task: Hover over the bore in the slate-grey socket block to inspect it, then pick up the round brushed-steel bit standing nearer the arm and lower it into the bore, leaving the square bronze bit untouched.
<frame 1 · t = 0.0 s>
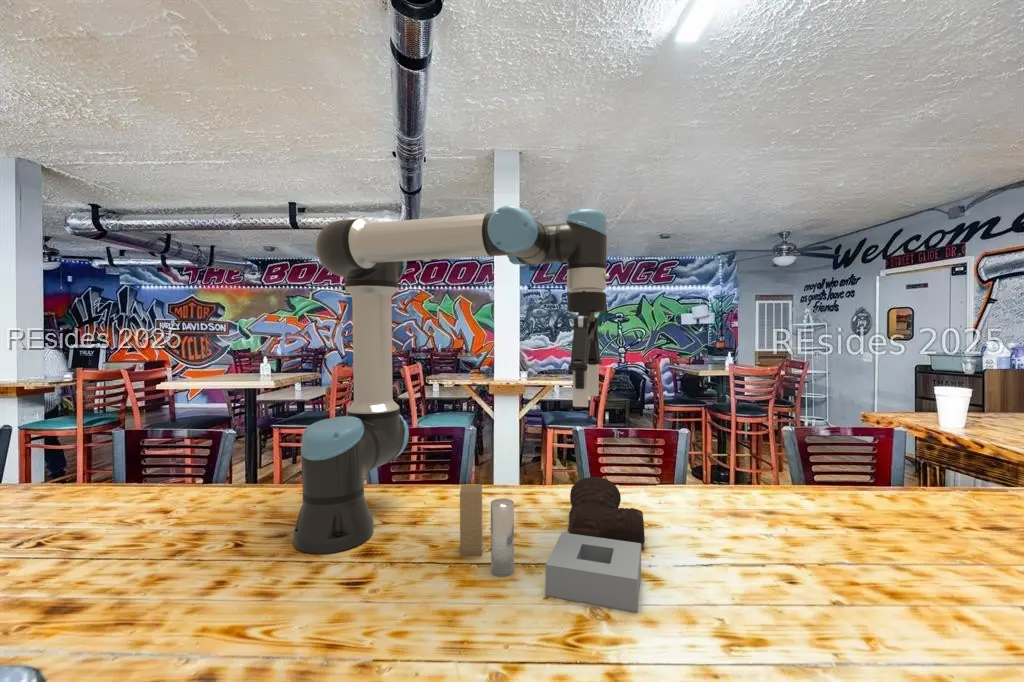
hand: (586, 400, 91), 28 cm above the table, fingers open, 13 cm apart
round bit: (502, 570, 81), on the table
socket block: (595, 583, 77), on the table
pipe: (604, 533, 96), on the table
square bit: (471, 550, 88), on the table
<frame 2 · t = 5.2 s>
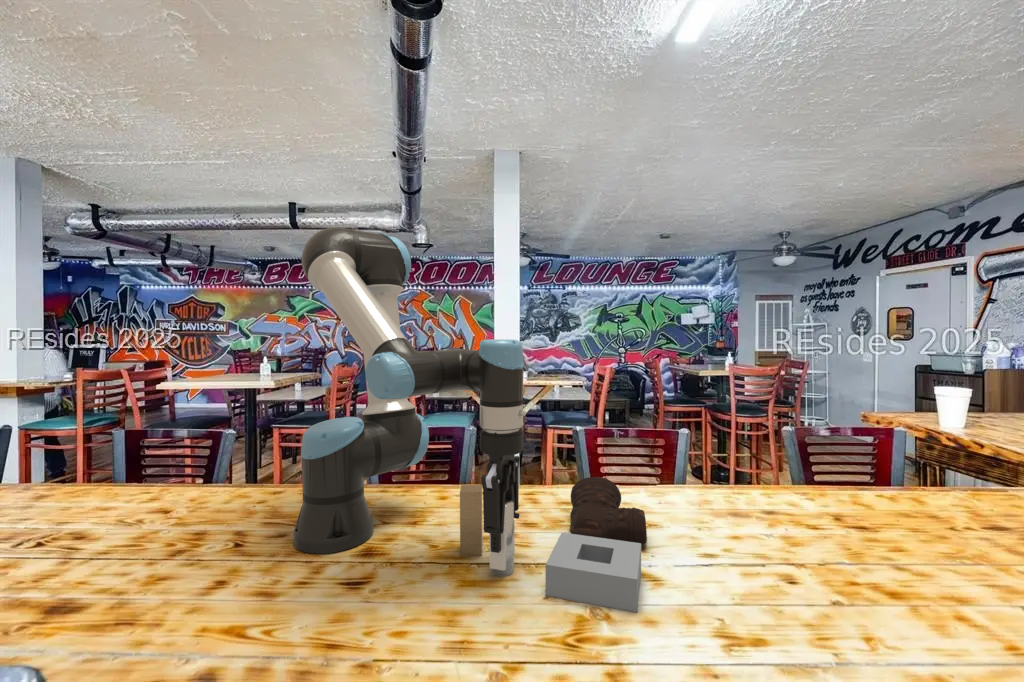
hand: (502, 561, 81), 2 cm above the table, fingers closed on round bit, 4 cm apart
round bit: (502, 570, 81), on the table, touching gripper
everything else where it was.
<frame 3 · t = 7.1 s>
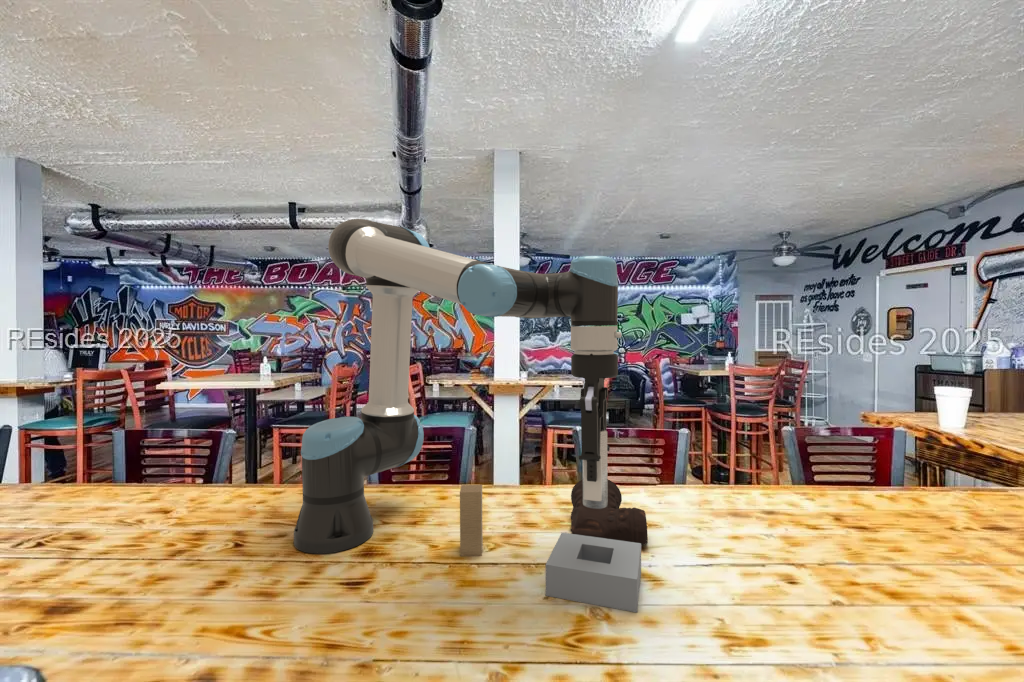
hand: (595, 494, 76), 15 cm above the table, fingers closed on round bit, 4 cm apart
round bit: (595, 503, 76), point 13 cm above the table, touching gripper
everything else where it was.
when the fingers open (6 cm above the table, at t = 9.4 s): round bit drops 3 cm, resting in socket block.
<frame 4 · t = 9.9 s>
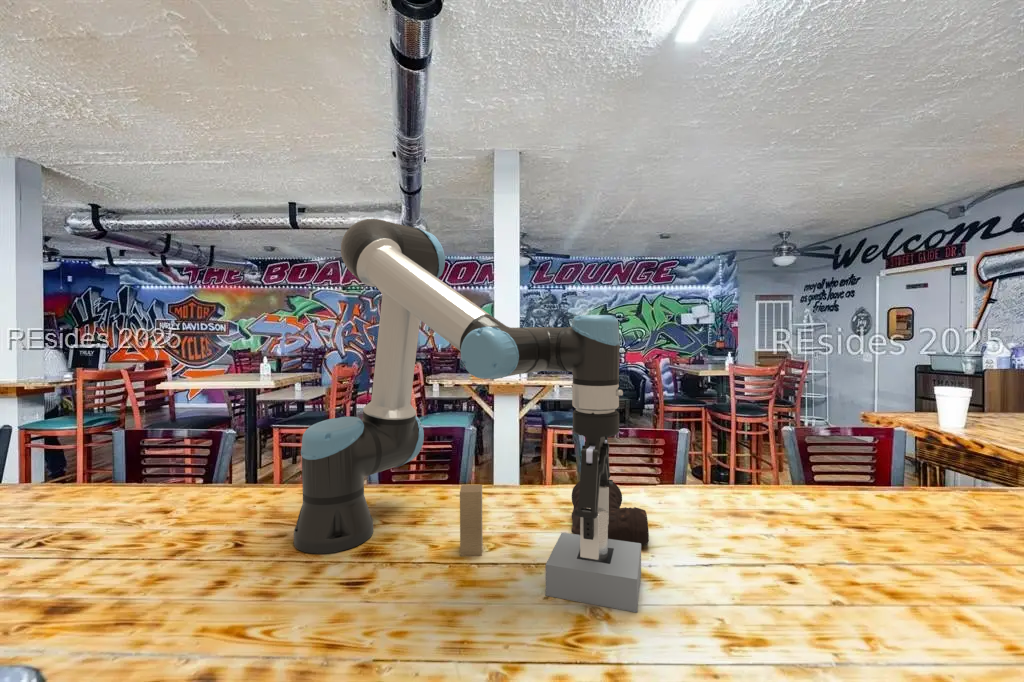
hand: (595, 539, 76), 7 cm above the table, fingers open, 12 cm apart
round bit: (595, 583, 77), resting in socket block
everything else where it was.
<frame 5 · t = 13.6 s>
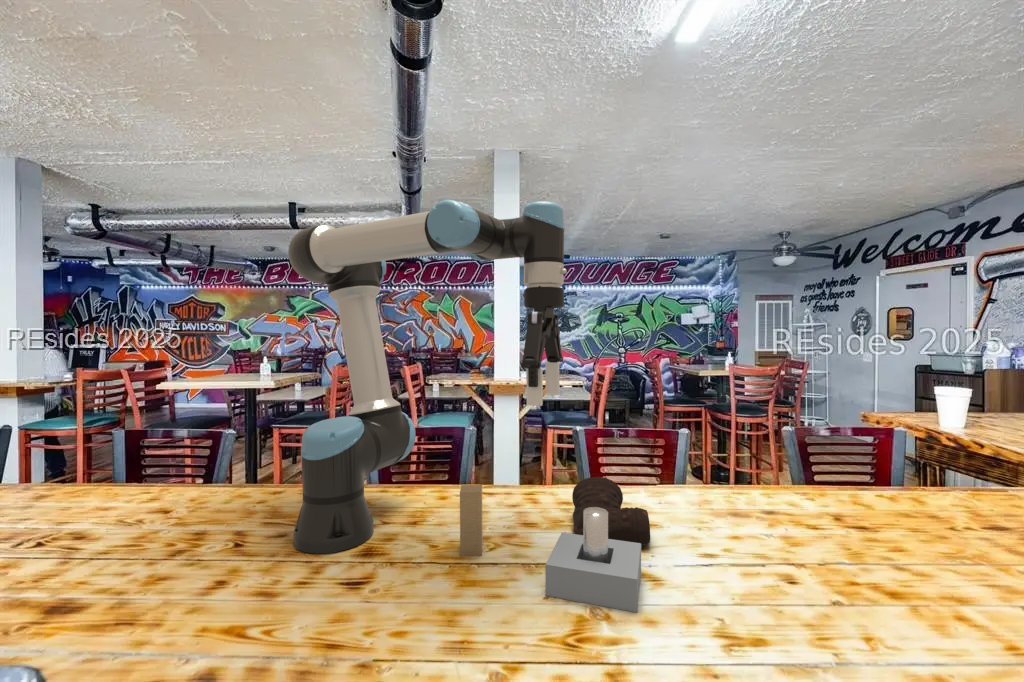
hand: (544, 399, 88), 29 cm above the table, fingers open, 13 cm apart
nothing on the table moved.
at the end: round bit 0.0 cm off-centre on the socket block, point 0.0 cm above the socket block's base; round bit tilted 0°; the gripper is holding nothing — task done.
